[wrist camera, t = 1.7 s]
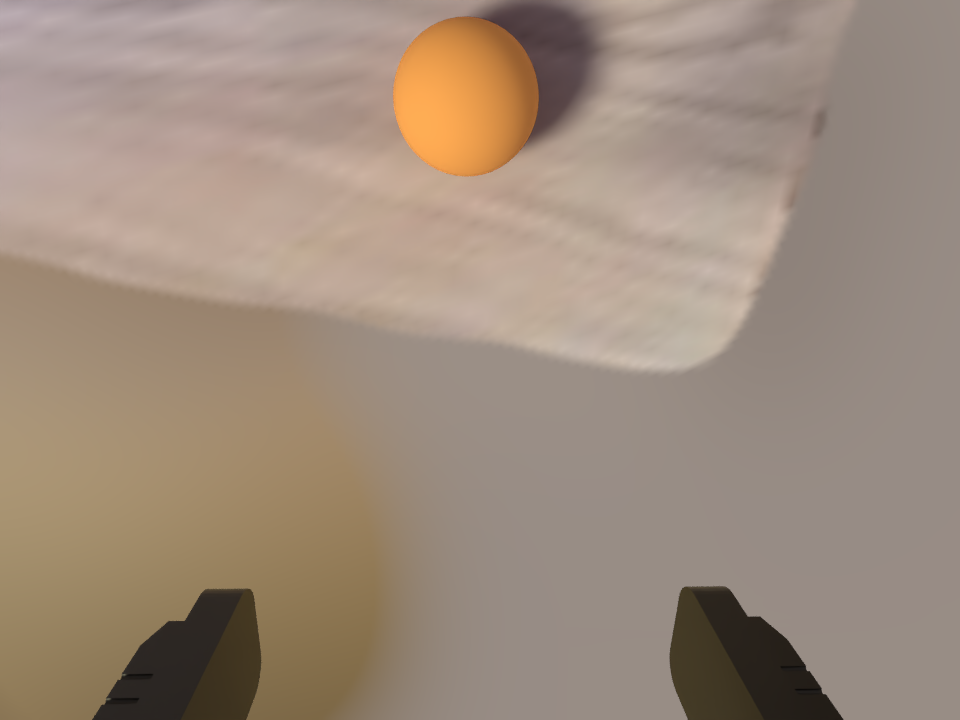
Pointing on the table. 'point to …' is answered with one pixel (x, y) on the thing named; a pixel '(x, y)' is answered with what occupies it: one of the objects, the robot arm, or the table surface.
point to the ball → (466, 96)
